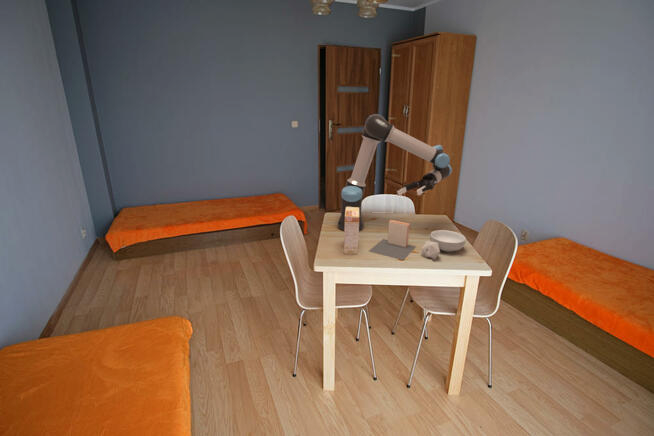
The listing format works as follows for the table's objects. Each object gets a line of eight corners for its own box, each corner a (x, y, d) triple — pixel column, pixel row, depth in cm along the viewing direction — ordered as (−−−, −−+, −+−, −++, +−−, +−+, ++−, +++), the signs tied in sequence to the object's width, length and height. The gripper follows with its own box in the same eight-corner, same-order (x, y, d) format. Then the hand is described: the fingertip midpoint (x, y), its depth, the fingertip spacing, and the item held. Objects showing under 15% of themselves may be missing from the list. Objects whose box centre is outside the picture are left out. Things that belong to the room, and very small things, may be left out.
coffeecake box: (344, 241, 183) (345, 206, 177) (357, 242, 182) (359, 207, 176) (343, 253, 169) (344, 215, 163) (357, 254, 168) (359, 216, 162)
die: (418, 254, 171) (417, 244, 163) (431, 244, 172) (431, 234, 165) (430, 266, 166) (430, 256, 158) (443, 255, 167) (444, 245, 160)
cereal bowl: (437, 256, 168) (439, 243, 165) (423, 243, 183) (424, 230, 181) (470, 254, 170) (472, 241, 168) (453, 241, 186) (455, 229, 183)
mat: (368, 253, 170) (368, 251, 170) (383, 240, 185) (383, 238, 185) (403, 262, 161) (403, 260, 161) (416, 248, 176) (416, 246, 176)
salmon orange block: (387, 243, 179) (388, 221, 175) (389, 241, 182) (391, 219, 178) (405, 247, 174) (407, 225, 171) (407, 245, 177) (410, 223, 173)
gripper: (452, 183, 186) (428, 199, 175) (415, 185, 206) (392, 200, 195) (449, 170, 184) (424, 185, 173) (412, 174, 204) (388, 187, 193)
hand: (407, 193), depth 184 cm, fingers open, 13 cm apart
